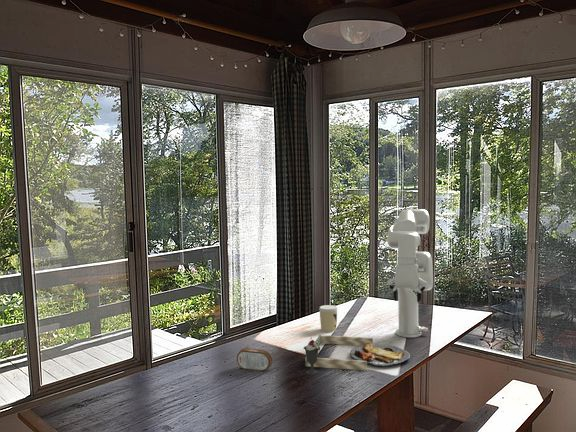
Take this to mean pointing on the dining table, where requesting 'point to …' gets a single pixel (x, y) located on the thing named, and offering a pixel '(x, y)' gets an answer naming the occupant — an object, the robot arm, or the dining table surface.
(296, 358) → the dining table surface
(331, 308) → the coffee cup
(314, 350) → the sundae
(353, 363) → the bay
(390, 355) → the food plate
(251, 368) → the tin
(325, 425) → the dining table surface
